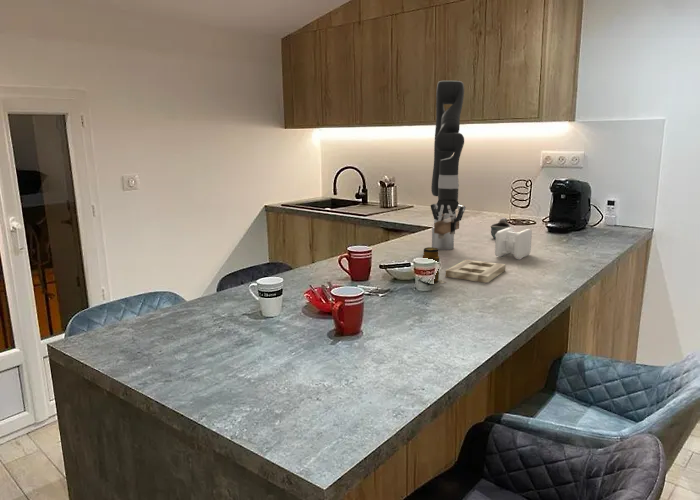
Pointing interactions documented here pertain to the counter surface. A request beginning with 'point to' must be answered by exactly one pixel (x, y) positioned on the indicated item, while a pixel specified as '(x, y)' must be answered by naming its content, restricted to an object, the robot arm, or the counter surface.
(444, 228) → the walnut bar
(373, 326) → the counter surface
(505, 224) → the mug
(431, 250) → the condiment
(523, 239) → the cable organizer
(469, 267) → the keyhole board
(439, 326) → the counter surface
